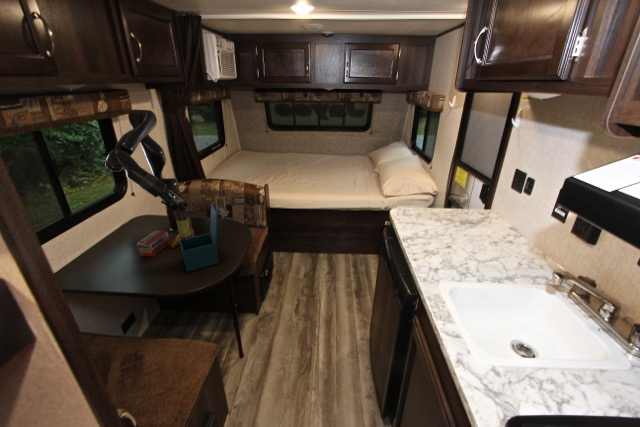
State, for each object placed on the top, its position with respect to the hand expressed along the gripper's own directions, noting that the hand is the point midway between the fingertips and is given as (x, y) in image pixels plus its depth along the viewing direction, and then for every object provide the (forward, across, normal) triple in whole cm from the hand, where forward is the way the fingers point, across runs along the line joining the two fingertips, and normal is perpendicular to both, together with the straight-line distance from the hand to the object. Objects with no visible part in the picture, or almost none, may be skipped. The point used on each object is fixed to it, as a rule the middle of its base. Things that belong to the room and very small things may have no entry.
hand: (185, 207), depth 139 cm
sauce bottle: (+10, 0, +13) cm, 16 cm away
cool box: (+24, +1, +21) cm, 32 cm away
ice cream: (+15, +20, +30) cm, 39 cm away
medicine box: (+5, +17, +40) cm, 44 cm away
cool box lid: (+15, +4, 0) cm, 16 cm away
